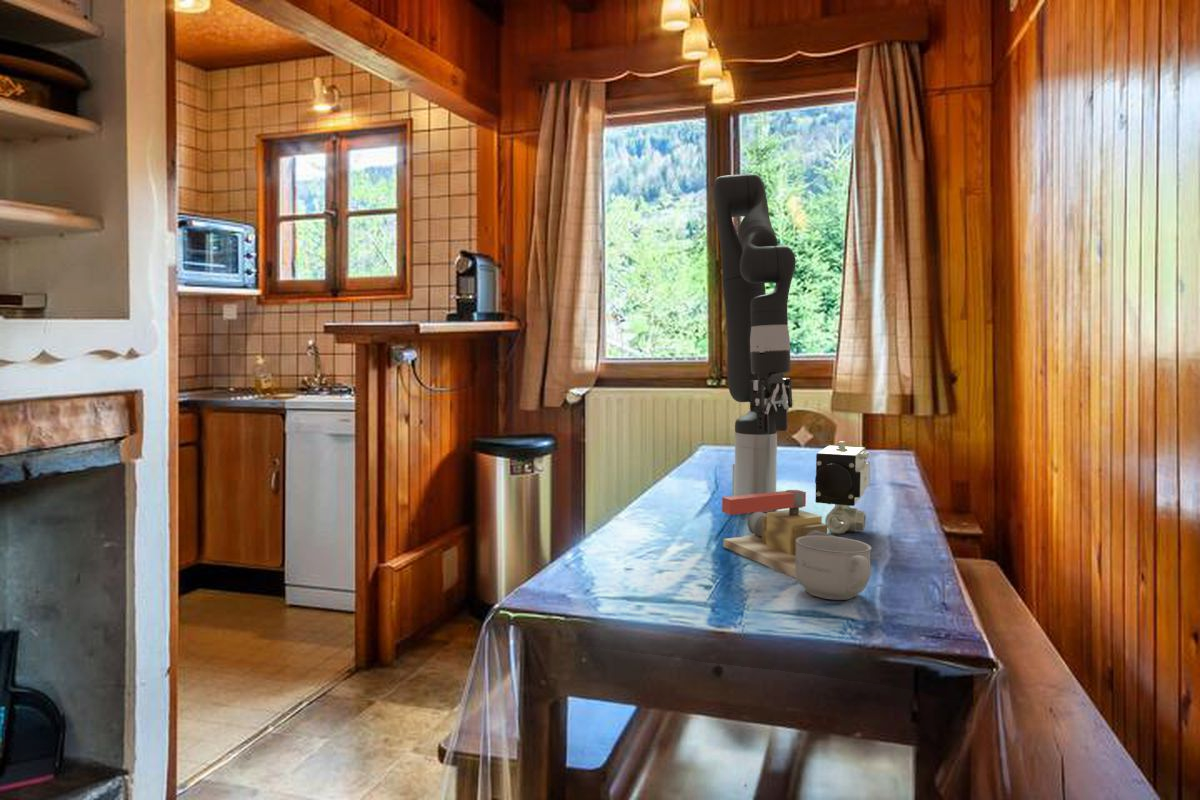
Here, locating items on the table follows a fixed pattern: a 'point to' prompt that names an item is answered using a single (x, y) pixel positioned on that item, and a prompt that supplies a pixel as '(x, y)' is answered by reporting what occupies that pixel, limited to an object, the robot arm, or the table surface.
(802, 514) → the valve fixture
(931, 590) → the table surface
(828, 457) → the ball valve
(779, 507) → the lever
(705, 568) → the table surface
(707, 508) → the table surface
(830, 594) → the teacup
